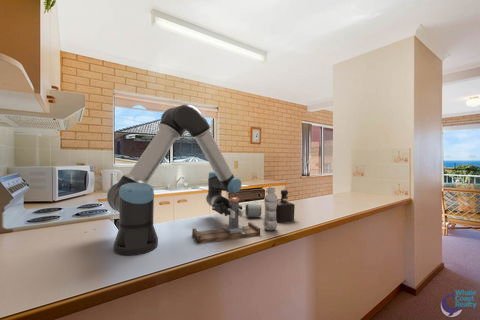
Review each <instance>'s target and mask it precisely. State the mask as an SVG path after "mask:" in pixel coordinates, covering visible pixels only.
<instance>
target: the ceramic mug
mask: <svg viewBox="0 0 480 320" xmlns="http://www.w3.org/2000/svg"><path fill="white" fill-rule="evenodd" d="M244 211H245V217H246V218H259V217H261V215H262V206H261V204H255V203H246V205H245V209H244Z"/></svg>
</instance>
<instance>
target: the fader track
mask: <svg viewBox="0 0 480 320" xmlns="http://www.w3.org/2000/svg"><path fill="white" fill-rule="evenodd" d="M240 226H241V225H240ZM241 227H243V232H242V233H234V234H229V233H228V232H227V231H226V230H225V229H224V227H223V228H216V229H208V230H197V229H196V228H194V227H193V228H192V232H191V233H192V235H191V236H192V237H193V239H194V241H195V242H196V243H197V244H198V245H199V244H205V243H206V244H207V243H212V242H220V241H227V240H228V241H229V240H234V239H235V240H237V239H242V238H250V237H257V236H261V227H259V226H258V225H255V224H254V223H253V222H251V221H250V222H248V223H247V225H242V226H241Z"/></svg>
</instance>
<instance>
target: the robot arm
mask: <svg viewBox="0 0 480 320" xmlns="http://www.w3.org/2000/svg"><path fill="white" fill-rule="evenodd" d="M157 126H158V131H157V132H156V134H155V135H154V136H153V138H152V140H151V141H150V142H149V144H148V145H147V147H146V148H145V150H144V151H143V152H142V154H141V156H140V157H139V158H138V159H137V161H136V163H135V164H134V165H133V167H132V168H131V169H130V171H129V172H128V173H127V174H122V176H121V177H120V179H119V180H118V181H117V183H114V184H113V185H112V186H111V187H110V188H109V189H108V191H107V194H106V200H107V203H108V205H109V207H110V208H112V210H114V211H116V212H118V213H119V215H118V216H119V218H118V219H119V220H118V221H119V225H118V231H117V234H116V236H115V240H114V242H113V252H114V253H115V254H116V255H120V256H121V255H122V256H136V255H141V254H145V253H149V252H150V251H152V250H155V249H156V248H157V247H158V245H159V239H158V238H159V237H158V235H157V232H156V228H155V226H154V214H155V213H154V211H155V210H154V209H155V208H154V206H155V203H154V201H155V192H154V187H153V186H152V185H151V184H148V183H149V181H150V180H151V178H152V177H153V175H154V174H155V172H156V171H157V169H158V167H159V166H160V165H161V163H162V162H163V160H164V158H165V157H166V155H167V153H168V152H169V151H170V149H171V147H172V146H173V145H174V144H175V142H176V140H180V139H181V138H182V137H183V135H184V133H185V132H187V133H188V134H189V135H190V136H191V138H193V139H195V141H196V143H197V145H198V147H200V150H201V152H203V153H202V154H204V157H205V158H206V160H207V162H208V164H209V165H210V166H211V168H212V170H213V171H210V172H209V173H208V177H207V182H208V185H207V187H208V189H207V195H206V197H205V201H206V203H207V204H208V205H209V206H211V210H212V211H214V212H216V213H218V214H220V215H224V216H225V217H227V216H228V217H229V216H231V217H232V218H235V211H233V210H231V209H230V208H229V198H227V197H225V196H223V195H222V194H223V191H224V192H229V193H234V194H235V193H239V192H240V190H242V181H241V179H240V178H238V177H235V176H234V174H233V171H232V169H230V166H229V164H228V163H227V161H226V159H225V157H224V155H223V153H222V152H221V150H220V147H219V145H218V143H217V142H216V140H215V139H214V136H213V135H212V132H211V131H210V130H211V126H210V124H209V123H208V120H207V119H206V118H205V116H204V115H203V113H202V112H201V111H200V110H199V109H197V107H195V106H194V105H192V104H191V105H190V104H181V105H179V106H178V105H177V106H175V107H170V108H168V109H166V110H165V111H164V112H163V113H162V114H161V117H160V122H159V123H158V125H157ZM244 211H245V210H243V206H241V205H240V204H239V217H240V218H244Z"/></svg>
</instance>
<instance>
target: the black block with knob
mask: <svg viewBox="0 0 480 320" xmlns="http://www.w3.org/2000/svg"><path fill="white" fill-rule="evenodd" d="M288 194H289V191H288V190H287V189H281V190H280V195H281V196H280V198H277V199H278V201H277V207H276V220H277V223H290V222H294V221H295V206H296V205H295V204H294V203H292V202H289V201H287V200H288V199H289V196H288Z"/></svg>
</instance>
